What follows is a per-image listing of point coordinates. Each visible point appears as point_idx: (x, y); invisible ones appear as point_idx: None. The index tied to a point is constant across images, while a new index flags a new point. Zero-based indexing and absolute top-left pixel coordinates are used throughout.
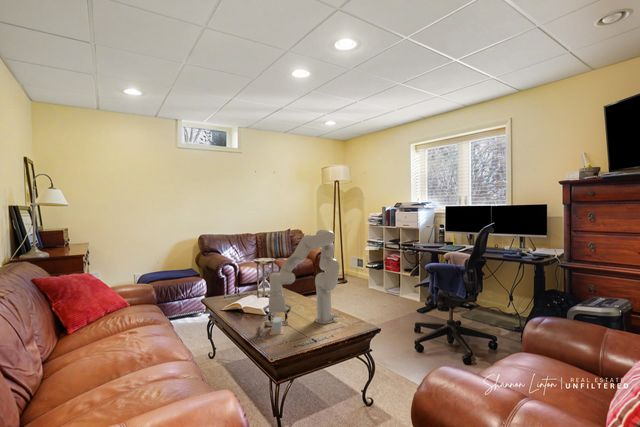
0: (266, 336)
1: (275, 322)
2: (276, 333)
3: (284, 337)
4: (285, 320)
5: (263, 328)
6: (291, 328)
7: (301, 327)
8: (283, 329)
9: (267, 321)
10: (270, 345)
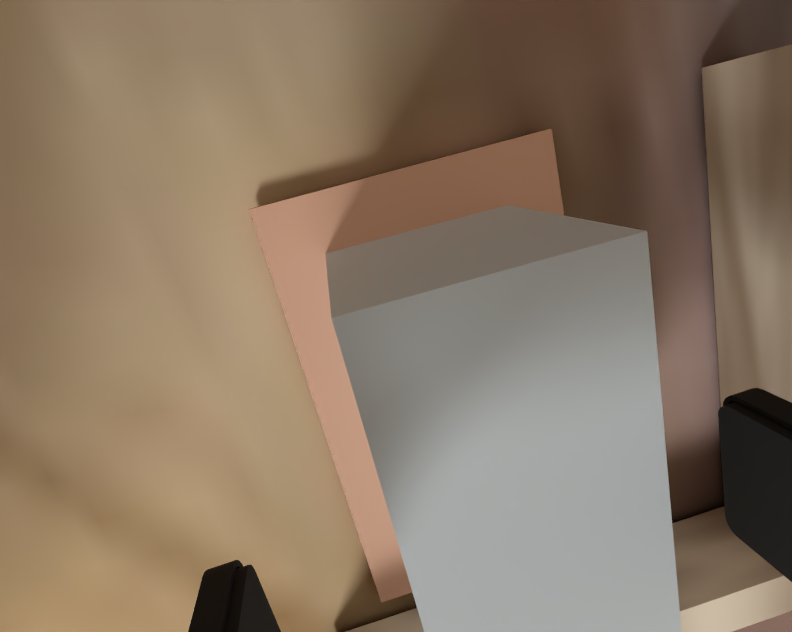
0: (598, 55)
1: (546, 325)
2: (415, 199)
3: (153, 39)
4: (237, 570)
5: (752, 334)
6: (201, 533)
7: (7, 618)
8: (333, 430)
9: (750, 589)
10: None
